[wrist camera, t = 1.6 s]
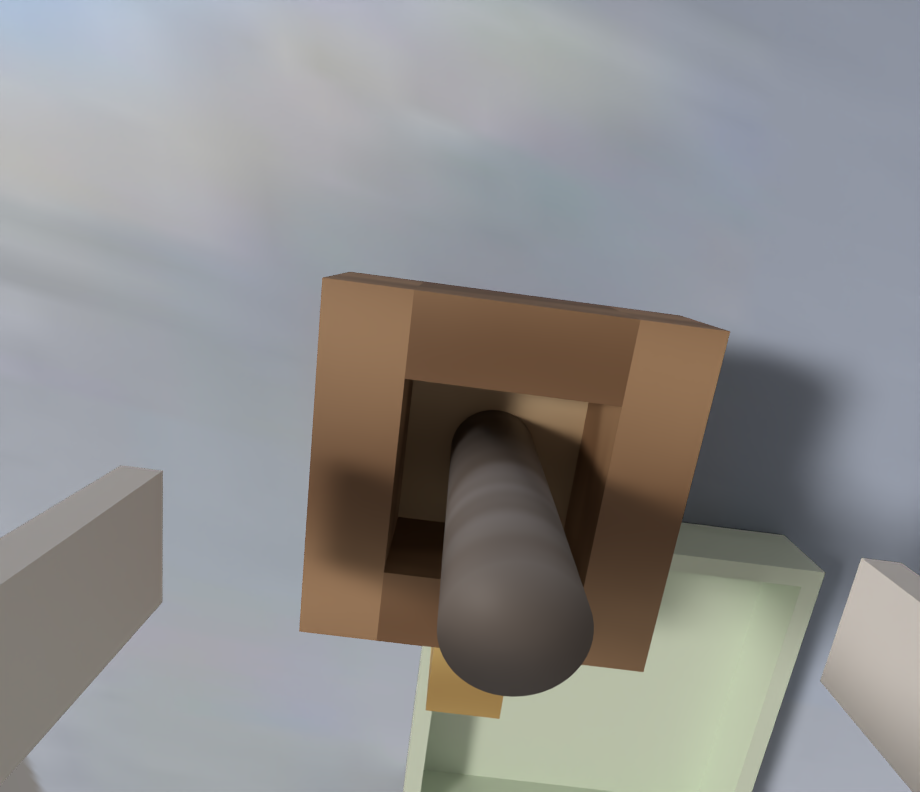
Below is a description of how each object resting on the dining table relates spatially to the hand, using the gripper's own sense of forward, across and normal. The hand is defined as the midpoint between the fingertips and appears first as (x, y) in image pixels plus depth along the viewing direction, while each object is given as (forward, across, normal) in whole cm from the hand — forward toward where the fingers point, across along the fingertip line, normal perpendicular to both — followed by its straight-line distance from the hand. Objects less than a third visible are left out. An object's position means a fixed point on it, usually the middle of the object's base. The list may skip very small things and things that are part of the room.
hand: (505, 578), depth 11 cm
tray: (+12, +6, -11) cm, 17 cm away
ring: (+6, 0, -1) cm, 6 cm away
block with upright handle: (+12, 0, +1) cm, 12 cm away
